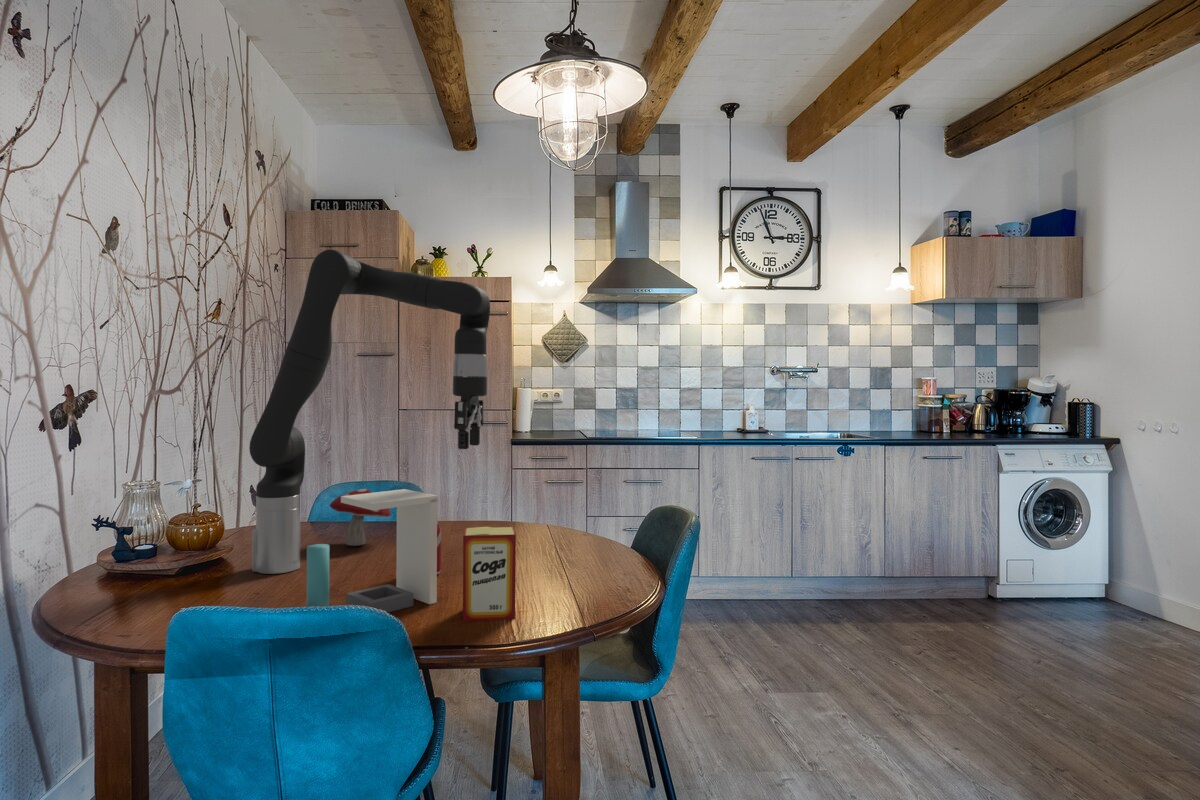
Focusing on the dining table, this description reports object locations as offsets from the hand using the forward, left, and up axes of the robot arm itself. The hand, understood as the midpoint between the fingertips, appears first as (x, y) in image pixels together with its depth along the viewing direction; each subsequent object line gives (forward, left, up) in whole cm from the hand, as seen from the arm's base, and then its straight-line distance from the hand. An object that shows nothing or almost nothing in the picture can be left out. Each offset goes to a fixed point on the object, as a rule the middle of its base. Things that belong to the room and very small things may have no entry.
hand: (469, 447), depth 156 cm
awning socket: (-10, -21, -29) cm, 37 cm away
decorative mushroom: (-37, +26, -29) cm, 54 cm away
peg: (-22, -26, -29) cm, 45 cm away
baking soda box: (+11, -25, -29) cm, 40 cm away
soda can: (-10, 0, -29) cm, 31 cm away
